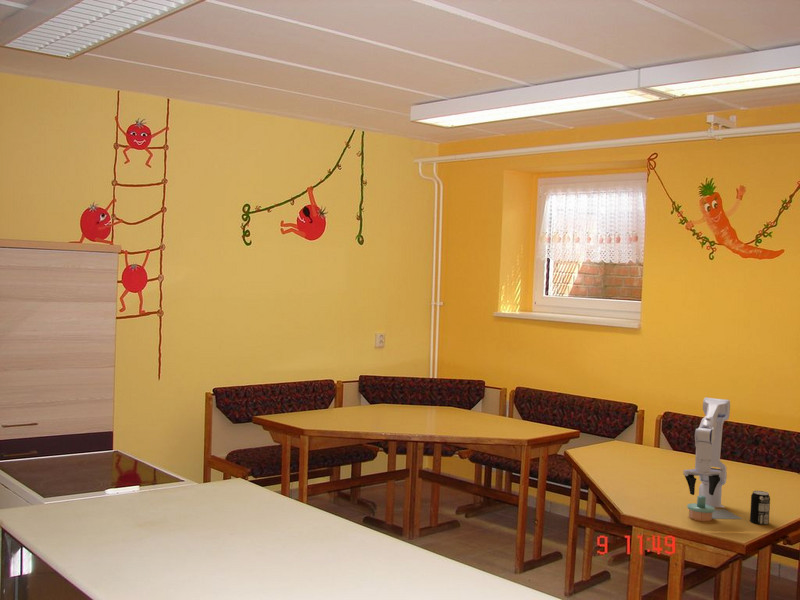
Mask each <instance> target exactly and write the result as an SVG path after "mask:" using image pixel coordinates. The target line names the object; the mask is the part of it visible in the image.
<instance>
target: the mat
mask: <svg viewBox="0 0 800 600" xmlns="http://www.w3.org/2000/svg"><path fill="white" fill-rule="evenodd" d="M712 520H743V518H742V517H740V516H738V515H737V514H734V512H731V511H730V510H728V509H725V508H724V509H723V508H715V512H712Z"/></svg>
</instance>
